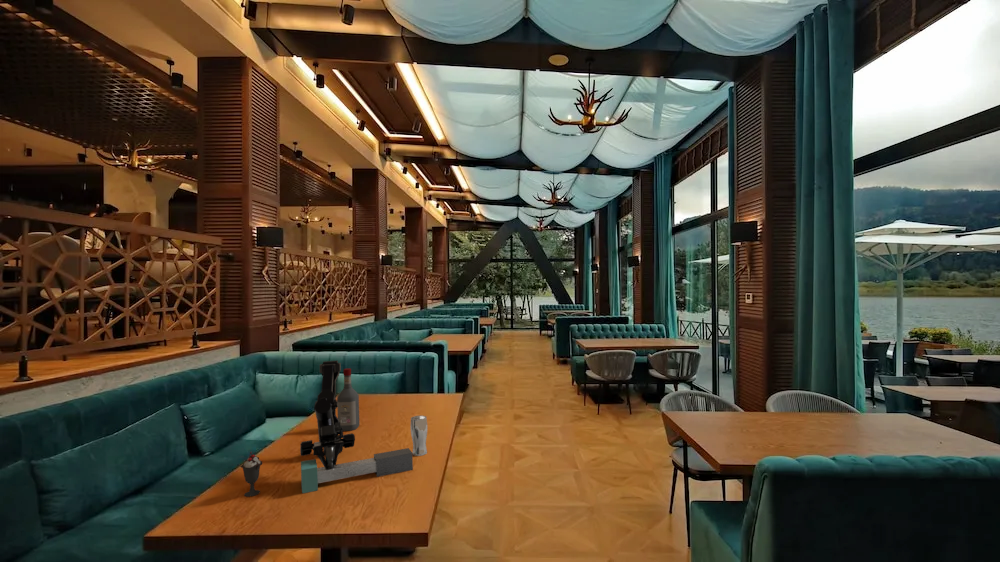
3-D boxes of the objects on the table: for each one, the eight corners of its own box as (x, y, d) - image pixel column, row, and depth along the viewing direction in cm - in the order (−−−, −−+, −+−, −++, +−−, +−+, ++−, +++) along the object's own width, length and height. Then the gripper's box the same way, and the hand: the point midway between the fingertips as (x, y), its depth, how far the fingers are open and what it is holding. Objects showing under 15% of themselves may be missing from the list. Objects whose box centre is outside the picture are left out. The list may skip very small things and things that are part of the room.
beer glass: (424, 456, 190) (423, 420, 190) (408, 456, 191) (407, 419, 192) (430, 450, 197) (429, 415, 197) (415, 450, 198) (414, 415, 199)
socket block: (316, 480, 169) (315, 458, 169) (317, 490, 161) (317, 467, 161) (301, 483, 167) (300, 461, 167) (302, 493, 159) (301, 470, 159)
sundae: (248, 499, 155) (247, 454, 156) (237, 495, 159) (236, 451, 159) (267, 491, 161) (266, 448, 161) (256, 488, 164) (255, 445, 165)
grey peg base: (378, 467, 176) (377, 437, 176) (380, 471, 172) (379, 440, 173) (307, 481, 165) (306, 448, 166) (308, 485, 162) (307, 452, 162)
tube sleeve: (409, 464, 182) (408, 448, 182) (412, 469, 176) (412, 452, 177) (374, 471, 176) (373, 454, 176) (377, 476, 171) (376, 459, 171)
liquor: (354, 431, 229) (353, 370, 230) (336, 431, 229) (334, 370, 230) (360, 425, 238) (359, 367, 239) (343, 426, 238) (341, 367, 239)
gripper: (299, 419, 166) (302, 460, 156) (353, 411, 175) (359, 449, 165) (299, 435, 173) (301, 475, 163) (350, 427, 182) (356, 464, 172)
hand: (330, 465), depth 166 cm, fingers closed on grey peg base, 3 cm apart
